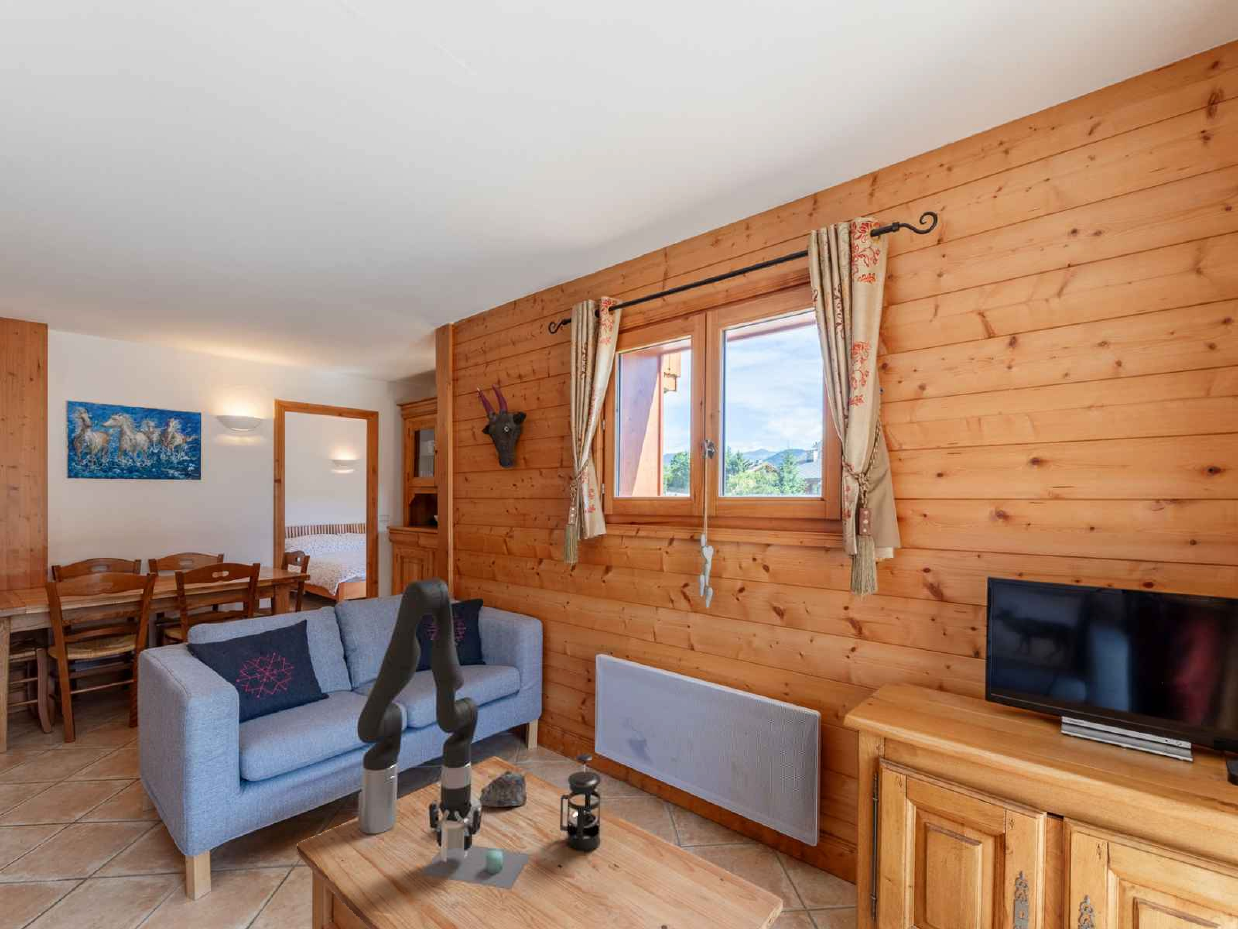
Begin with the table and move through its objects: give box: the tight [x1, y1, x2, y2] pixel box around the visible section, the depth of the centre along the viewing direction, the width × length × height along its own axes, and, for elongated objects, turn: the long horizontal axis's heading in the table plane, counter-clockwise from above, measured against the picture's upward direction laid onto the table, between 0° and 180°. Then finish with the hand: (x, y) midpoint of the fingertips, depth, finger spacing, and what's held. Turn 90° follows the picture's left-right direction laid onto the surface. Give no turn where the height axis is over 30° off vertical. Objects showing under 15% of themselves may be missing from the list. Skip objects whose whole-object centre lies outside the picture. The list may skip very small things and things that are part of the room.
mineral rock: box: [479, 769, 527, 808], centre depth 182 cm, size 13×11×10 cm
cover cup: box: [440, 817, 468, 862], centre depth 152 cm, size 6×6×9 cm
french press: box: [559, 753, 602, 853], centre depth 163 cm, size 12×9×23 cm
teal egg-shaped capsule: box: [486, 850, 503, 874], centre depth 150 cm, size 4×4×4 cm
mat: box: [419, 844, 532, 890], centre depth 152 cm, size 24×14×1 cm, turn 78°
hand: (454, 846), depth 152 cm, fingers closed on cover cup, 6 cm apart
